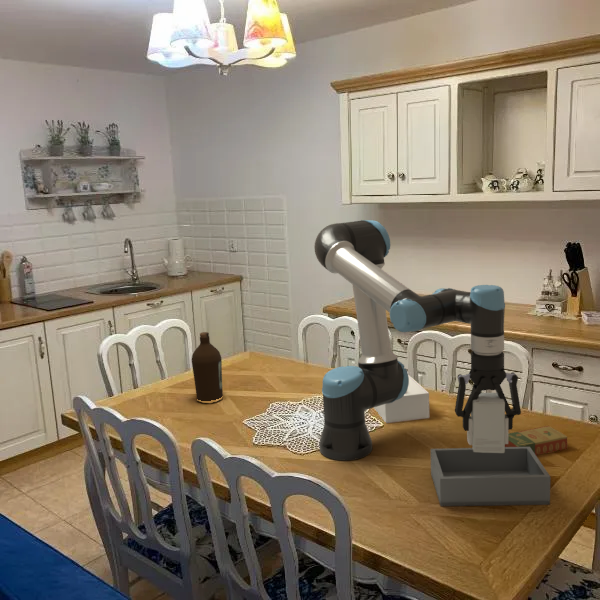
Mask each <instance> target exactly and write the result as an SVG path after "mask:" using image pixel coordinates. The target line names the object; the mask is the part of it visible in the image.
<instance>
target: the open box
mask: <svg viewBox="0 0 600 600" xmlns="http://www.w3.org/2000/svg"><path fill="white" fill-rule="evenodd" d="M430 475H431V479H432V482H433V486H434V489H435V491H436V496H437V498H438V502H439V505H440V507H474V506H477V507H478V506H481V507H482V506H483V507H485V506H486V507H488V506H489V507H490V506H533V505H534V506H535V505H536V506H537V505H538V506H539V505H540V506H541V505H543V506H546V505H547V506H548V505H551V475H550V474H549V472H548V471H547V470H546V468H545V466H544V465H543V463H542V462H541V461H540V459H539V457H538V455H535V454H534V452H533V451H532V449H531V448H530V447H505V452H504V453H481V452H473V447H458V448H457V447H456V448H455V447H454V448H430Z"/></svg>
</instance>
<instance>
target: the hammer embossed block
mask: <svg viewBox="0 0 600 600" xmlns="http://www.w3.org/2000/svg"><path fill="white" fill-rule="evenodd" d="M408 377H409V385H408V389H407V391H406V393H405V394H404V396H403V397H402V398H400V399H398V400H395V401H394V402H392V403H387V404H383V405H380V406H377V407H374V408H373V409H374V410H375V412H376V413H377V412H378V413H377V414H378V415H379V417H380V418H381V417H382V418H381V419H382V421H384V423H385V422H386V423H385V424H389V423H398V422H399V423H400V422H407V421H415V420H423V419H430V393H429V391H427V390H426V388H424V387H423V386H422V385H421V384H420V383H418V381H416V380H415V379H414V378H413V377H412V376H411V375H409V374H408Z"/></svg>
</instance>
